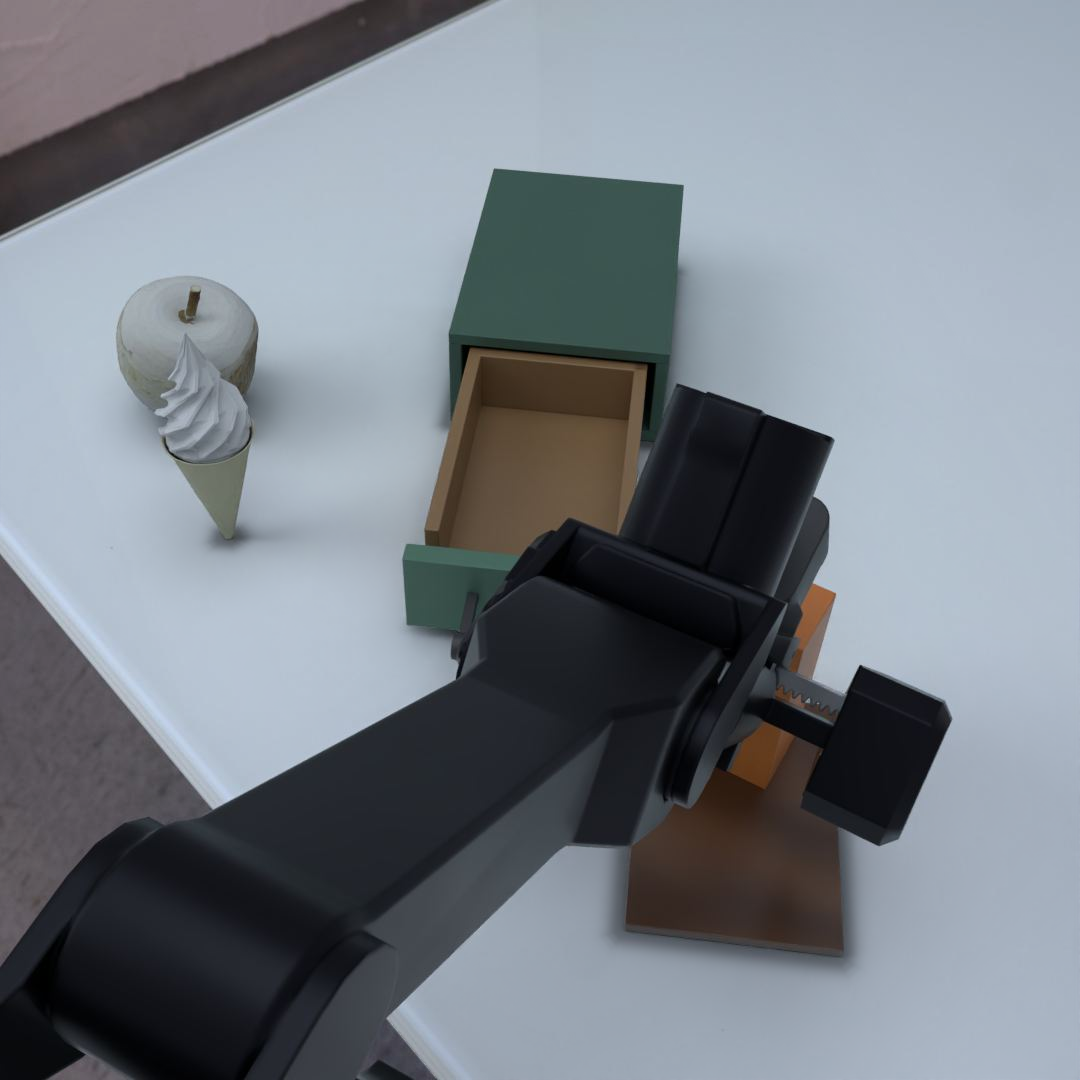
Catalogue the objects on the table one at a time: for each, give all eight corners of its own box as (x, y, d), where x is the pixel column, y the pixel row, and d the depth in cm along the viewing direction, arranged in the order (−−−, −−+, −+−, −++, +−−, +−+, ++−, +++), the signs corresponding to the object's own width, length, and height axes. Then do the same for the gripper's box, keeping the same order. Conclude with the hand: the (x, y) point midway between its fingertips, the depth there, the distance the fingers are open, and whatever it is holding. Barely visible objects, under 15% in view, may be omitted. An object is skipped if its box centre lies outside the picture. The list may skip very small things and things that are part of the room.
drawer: (626, 712, 68) (634, 647, 64) (391, 685, 69) (385, 620, 65) (651, 427, 84) (659, 362, 80) (460, 408, 85) (458, 342, 81)
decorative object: (141, 368, 88) (110, 240, 81) (273, 364, 89) (254, 237, 82) (124, 457, 82) (89, 327, 75) (266, 451, 83) (245, 322, 75)
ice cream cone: (168, 553, 76) (115, 347, 66) (215, 497, 80) (172, 292, 69) (243, 578, 75) (202, 372, 64) (288, 520, 78) (255, 316, 68)
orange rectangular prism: (765, 790, 65) (803, 650, 58) (675, 746, 67) (700, 605, 59) (796, 734, 68) (837, 592, 60) (709, 693, 70) (737, 550, 62)
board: (841, 957, 60) (844, 951, 60) (623, 930, 61) (624, 924, 60) (830, 712, 70) (832, 705, 69) (642, 691, 70) (643, 684, 70)
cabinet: (659, 442, 84) (670, 354, 79) (450, 421, 85) (448, 333, 80) (673, 269, 98) (684, 184, 93) (493, 252, 99) (493, 167, 94)
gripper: (1009, 583, 44) (1009, 596, 59) (533, 392, 50) (641, 446, 65) (876, 882, 45) (909, 821, 60) (424, 657, 51) (555, 652, 66)
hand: (748, 673), depth 62 cm, fingers open, 9 cm apart
